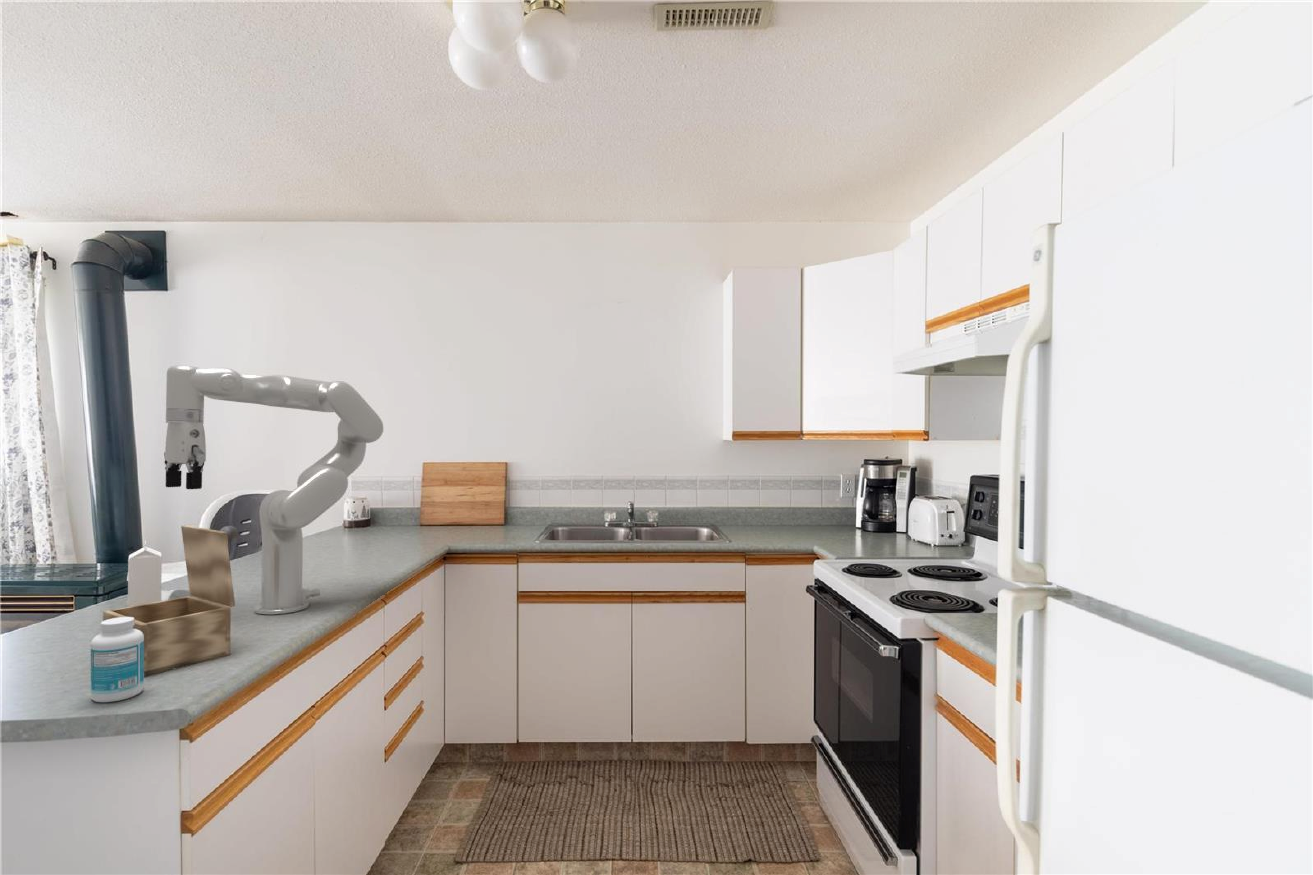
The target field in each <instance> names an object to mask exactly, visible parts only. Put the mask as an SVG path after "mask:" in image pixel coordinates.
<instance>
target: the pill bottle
mask: <svg viewBox="0 0 1313 875" xmlns="http://www.w3.org/2000/svg"><path fill="white" fill-rule="evenodd" d="M134 624H135V622H134V618H133V617H118V618H112V619H108V620H105V621H103V620H102V621H101V622H100V631H101V632H100V633H99V634H97V635H96V636H94V637H93V638H92V640H91V641H90V698H91V700H92V701H93V702H96V703H113V702H119V701H124V700H126V699H131V698H133V697H135V696H137V695H138V694H140V693H141V692H142V691H143V690H144V688H145V677H144V635H143V633H142V632H141V631H140V630H137V629H133V626H134Z"/></svg>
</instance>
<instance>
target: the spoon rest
mask: <svg viewBox="0 0 1313 875" xmlns="http://www.w3.org/2000/svg"><path fill="white" fill-rule="evenodd" d="M187 596H190V591H189V589H183V588H174V589H171V590H164V589H161V601H165V600H170V599H176V598H182V597H187ZM192 597H194V596H192ZM196 598H197V597H196ZM199 599H201V598H199ZM203 600H204V599H203Z"/></svg>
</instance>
